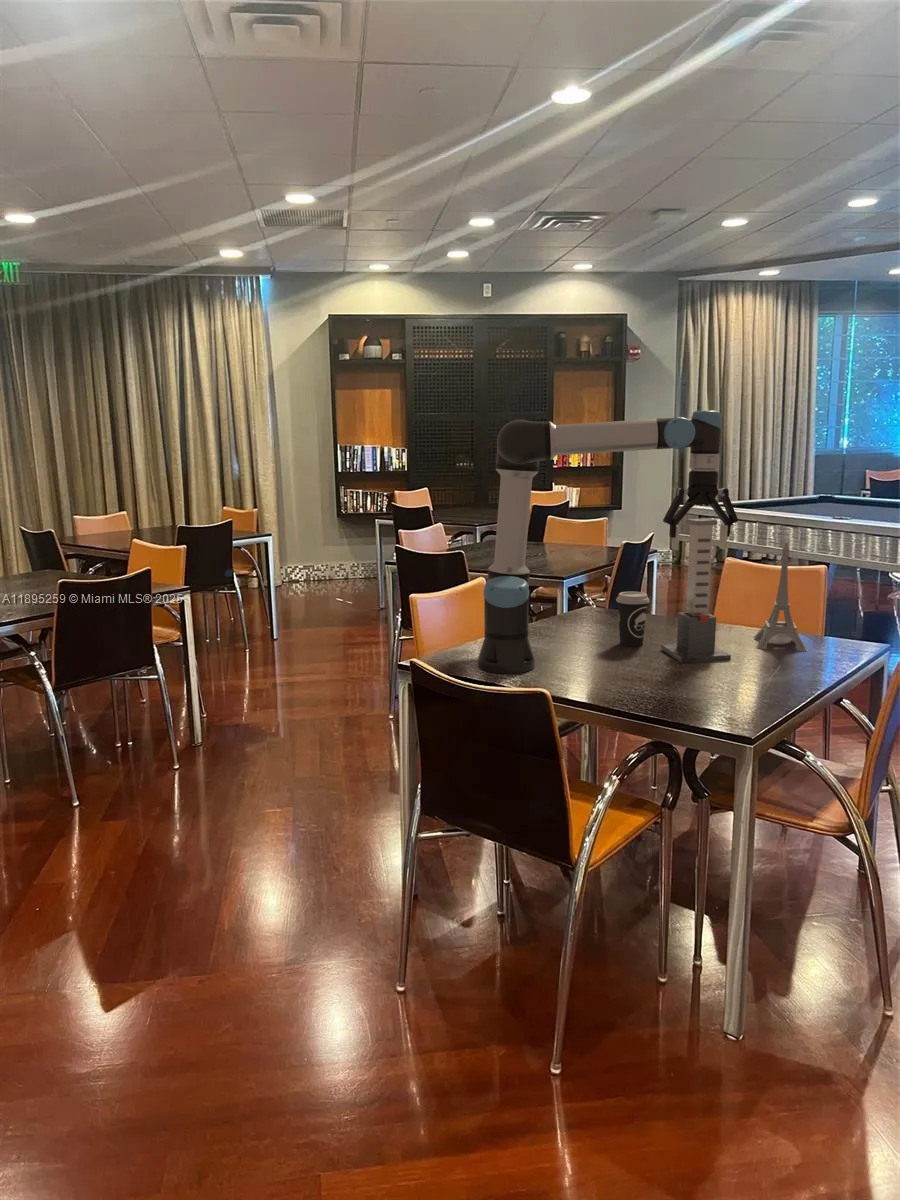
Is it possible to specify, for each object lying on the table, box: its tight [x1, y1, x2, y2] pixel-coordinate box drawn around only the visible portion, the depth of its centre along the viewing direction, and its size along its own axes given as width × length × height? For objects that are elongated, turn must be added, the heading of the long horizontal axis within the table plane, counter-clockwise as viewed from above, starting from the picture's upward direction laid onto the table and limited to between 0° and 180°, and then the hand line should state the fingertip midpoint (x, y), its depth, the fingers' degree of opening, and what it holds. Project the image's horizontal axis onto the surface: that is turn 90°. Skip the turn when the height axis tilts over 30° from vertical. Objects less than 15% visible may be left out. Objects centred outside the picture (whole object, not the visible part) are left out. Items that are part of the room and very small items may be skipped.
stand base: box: [660, 611, 732, 664], centre depth 226 cm, size 14×14×12 cm
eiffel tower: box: [753, 542, 808, 652], centre depth 235 cm, size 13×13×30 cm
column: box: [685, 517, 718, 618], centre depth 223 cm, size 6×6×27 cm
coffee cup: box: [615, 591, 650, 648], centre depth 239 cm, size 10×10×15 cm
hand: (698, 549), depth 222 cm, fingers open, 13 cm apart
